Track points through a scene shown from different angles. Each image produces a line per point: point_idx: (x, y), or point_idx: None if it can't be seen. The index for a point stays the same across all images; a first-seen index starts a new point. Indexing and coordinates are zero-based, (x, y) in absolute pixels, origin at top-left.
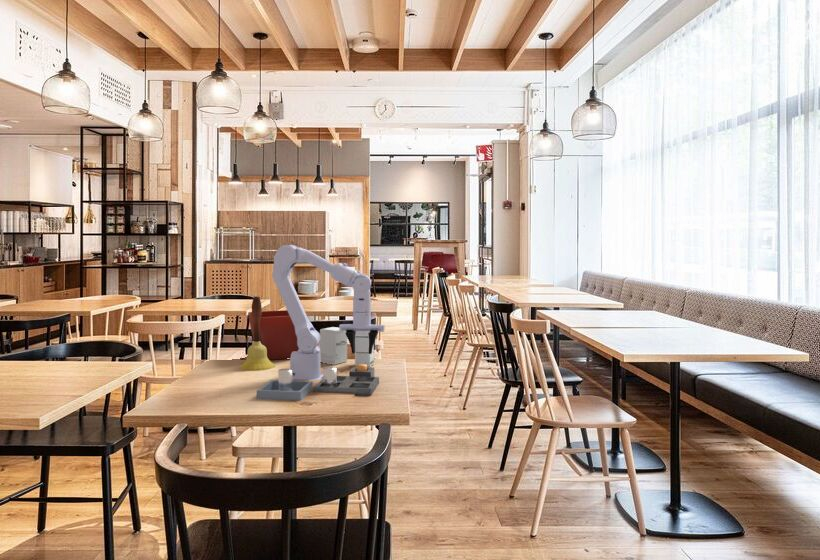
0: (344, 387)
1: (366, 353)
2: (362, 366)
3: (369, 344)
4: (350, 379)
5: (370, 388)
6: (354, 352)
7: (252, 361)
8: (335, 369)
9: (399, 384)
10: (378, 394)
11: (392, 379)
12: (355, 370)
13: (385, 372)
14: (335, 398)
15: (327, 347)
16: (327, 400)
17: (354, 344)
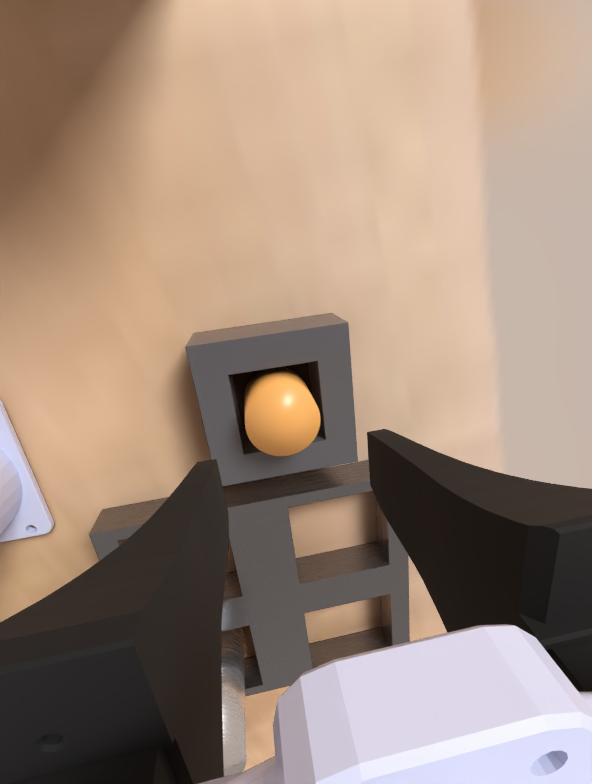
0: (295, 678)
1: None
2: (297, 451)
3: (422, 569)
4: (270, 565)
5: None
6: (224, 499)
7: None
8: (244, 763)
9: (492, 444)
10: (422, 608)
11: (449, 354)
12: (239, 430)
13: (378, 159)
14: (278, 696)
15: None
16: (260, 721)
17: (208, 535)
